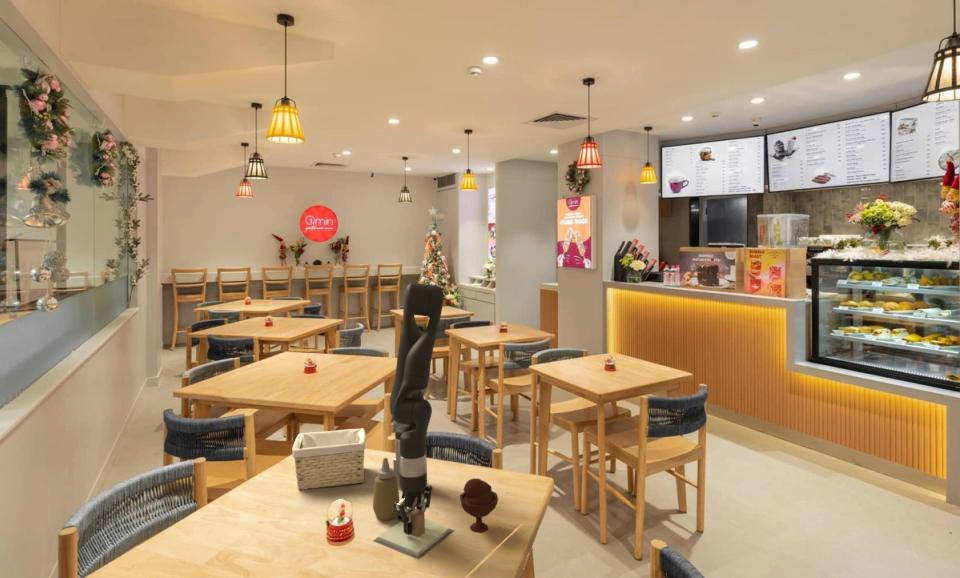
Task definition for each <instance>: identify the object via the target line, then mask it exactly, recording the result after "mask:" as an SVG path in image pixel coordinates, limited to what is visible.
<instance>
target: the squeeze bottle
mask: <svg viewBox="0 0 960 578" xmlns="http://www.w3.org/2000/svg"><path fill="white" fill-rule="evenodd" d="M399 493H400V492H399V490H398V484H397V477H396V476H395V475H394V468H393V467H390V463H389V460H388V457H384V458H383V459H382V465H381V468H378V470H377V476H376V477H375V478H374V486H373V495H372V497H373V498H372V510H373V512H374V514H375V515H374V516H375V517H376V519H377V520H379V521H381V522H389V521H392V520H394V519H395V518H397V516H396V512H395V508H394V503H395V502H399V501H400V500H401V499H400V494H399Z"/></svg>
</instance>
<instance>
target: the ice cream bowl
mask: <svg viewBox="0 0 960 578" xmlns="http://www.w3.org/2000/svg"><path fill="white" fill-rule="evenodd" d="M459 498H460V505H461V507H462V509H463V511H464V512H465V513H466V514H468V515H470V516H471V517H473V518H475V522H473V523H472V524H471V525H469V529H470V531H471V532H473V533H479V534H480V533H481V534H482V533H485V532H487V530H489V526H488V524H487V523H485V522H483V517H487V516H488V515H490V513H491V512H492V511H493V510H494V509H496V507H497V505H498V501H499V497H498V493H497V492H495V491H494V490H492V485H491V484H489V483H488V482H486V481H484V480H482V479H480V478H472V479H469V480H467V481H466V482H465V484H464V486H463V492H462V493H461V494H460V495H459Z"/></svg>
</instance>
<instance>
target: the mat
mask: <svg viewBox="0 0 960 578" xmlns="http://www.w3.org/2000/svg"><path fill="white" fill-rule="evenodd" d="M454 532H455V530H454V529H451V528H450V531H449V532H448V533H447V534H446V535H444V536H443V537H442V538H440V539H439V540H438V541H437V542H435V543H434V544H433V545H432V546H430V547H429V548H428V549H426V550H425V551H424V552H423V553H421V554H420V555H419V556H416V555H413V554H411V553H409V552H406V551H404V550H401V549H399V548H396V547H394V546H391V545H389V544H386V543H384V542H381V541H379V540H378V537H376V538H375V539H374V540H372V542H374V543H377V544H379V545H382V546H384V547H387V548H389V549H391V550H394V551H397V552H398V553H401V554H404V555H406V556H409V557H411V558H413V559H416V560H418V561H419V560H420V559H422V557H424V556H425V555H426V554H428V553H429V552H430V551H431V550H433V549H434V548H435V547H436V546H437V545H439V544H440V543H442V542H443V541H444V540H445V539H446V538H447V537H449V536H450V535H451V534H453V533H454Z"/></svg>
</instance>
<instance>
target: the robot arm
mask: <svg viewBox="0 0 960 578" xmlns="http://www.w3.org/2000/svg"><path fill="white" fill-rule="evenodd" d="M443 306H444V290H443V288H442V287H441V286H440V285H435V284H426V283H419V282H411V283H409V284H408V285H407V286H406V289H405V292H404V300H403V311H402V313H403V314H402V327H401V332H400V333H401V334H400V338H399V339H400V340H399V345H398V350H397V356H396V358H397V359H396V368H395V377H394V381H393V384H392V385H393V386H392V388H391V392H390V397H389V412H390V414H391V416H392V418H393V420H394V421H395V422H396V423H397V424H400V425H398V426H397V427H396V428H395V431H394V441H395V442H394V444H395V446H394V447H395V449H394V450H395V457H394V458H393V459H392V461H393V463H392V465H393V467H392V468H393V470H394V475H395V476H396V477H397V484H398V491H400V492H402V494H401V498H400V499H399V500H400V501H399V502H395V503H394V508H395V512H396V520H397V522H398V523H399V522H402V523H403V524H404V533H405V534H407V535H411V534H412V521H411V520H412V515H413V514H414V512H415V508H416V509H419V510H422V511H424V514H425V513H426V511H427V510H426V509H429V508H430V506H431V505H430V504H431V501H432V500H431V499H432V491H433V486H432V485H429V484H428V461H427V446H426V444H427V442H426V439H427V434H428V428H429V426H430V421H431V417H432V412H433V409H432V408H433V407H432V405H431V403H430V401H428V399H426V398H425V397H424V394H423V391H424V390H426V389H427V388H428V387H429V382H430V379H429V378H430V373H431V364H432V357H433V352H434V346H435V344H436V340H437V334H438V331H439V326H440V322H441V318H442V317H441V316H442V312H443ZM416 316H421V317H428V318H429V319H428V324H427V326H426V328H425V329H424V331H423V332H422V331H421V330H420V328H419V326H418V323H417V322H416V318H415V317H416ZM424 398H425V399H424ZM408 508H411V510H410V509H408ZM407 513H408V517H406V515H407Z"/></svg>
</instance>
